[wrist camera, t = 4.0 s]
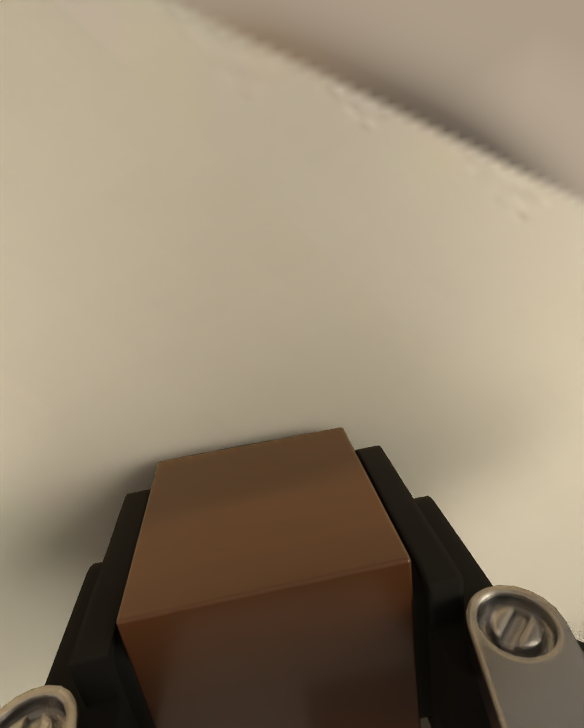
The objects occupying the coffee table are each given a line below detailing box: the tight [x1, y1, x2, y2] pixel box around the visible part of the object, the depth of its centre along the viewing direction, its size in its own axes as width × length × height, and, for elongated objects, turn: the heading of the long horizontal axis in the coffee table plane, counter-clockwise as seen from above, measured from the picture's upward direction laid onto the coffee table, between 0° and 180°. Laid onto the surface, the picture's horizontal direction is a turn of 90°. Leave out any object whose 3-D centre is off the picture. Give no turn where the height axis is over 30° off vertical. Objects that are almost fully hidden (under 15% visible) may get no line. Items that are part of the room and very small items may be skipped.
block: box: [116, 428, 421, 728], centre depth 9 cm, size 4×4×4 cm
